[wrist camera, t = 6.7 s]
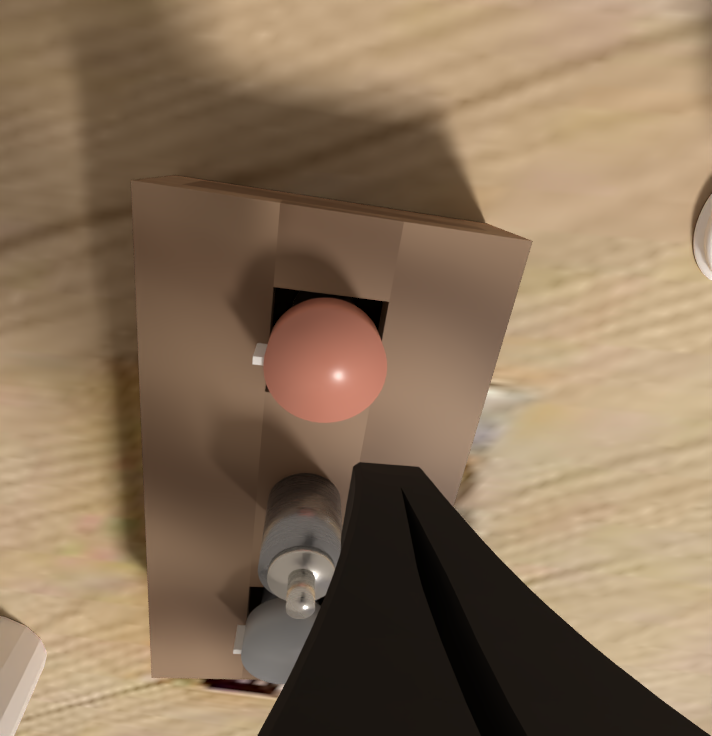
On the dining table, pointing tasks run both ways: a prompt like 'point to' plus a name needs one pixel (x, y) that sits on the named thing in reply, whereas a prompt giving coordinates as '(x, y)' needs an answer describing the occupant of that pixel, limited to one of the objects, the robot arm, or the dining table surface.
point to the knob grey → (272, 639)
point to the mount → (251, 395)
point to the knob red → (323, 359)
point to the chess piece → (704, 239)
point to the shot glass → (17, 671)
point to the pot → (301, 541)
